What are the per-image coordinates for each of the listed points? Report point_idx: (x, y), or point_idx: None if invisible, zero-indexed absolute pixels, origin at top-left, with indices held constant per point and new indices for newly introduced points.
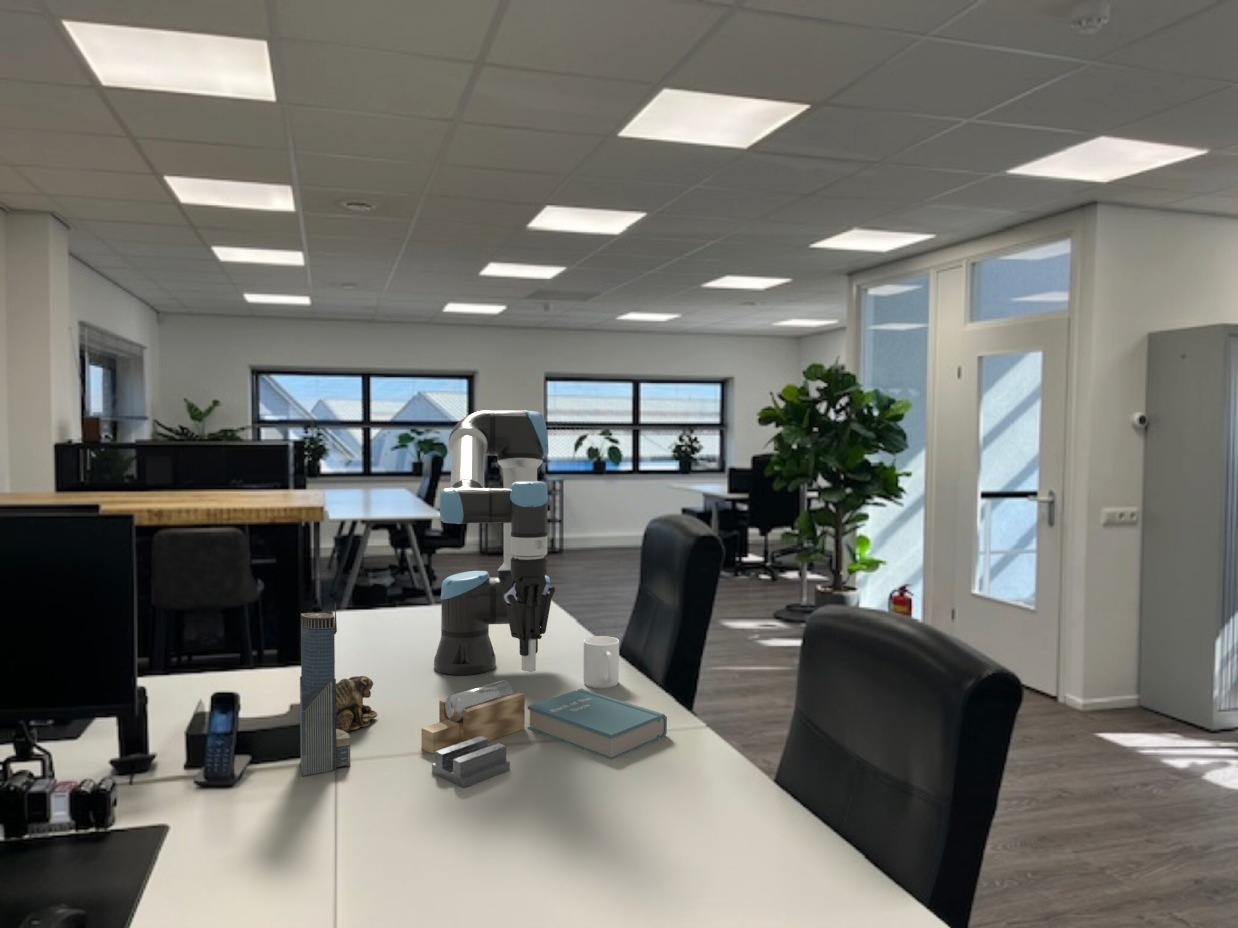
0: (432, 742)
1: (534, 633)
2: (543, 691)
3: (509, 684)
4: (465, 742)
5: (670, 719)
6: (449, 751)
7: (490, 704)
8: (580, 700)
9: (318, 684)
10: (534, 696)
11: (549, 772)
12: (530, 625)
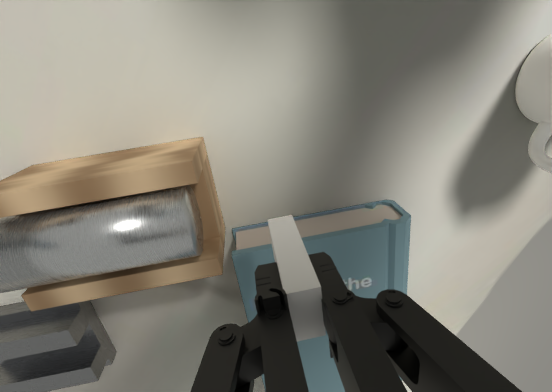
0: None
1: (332, 352)
2: (415, 33)
3: (192, 253)
4: (25, 342)
5: (445, 313)
6: None
7: (105, 295)
8: (346, 282)
9: None
10: (370, 55)
11: (168, 377)
12: (344, 364)
